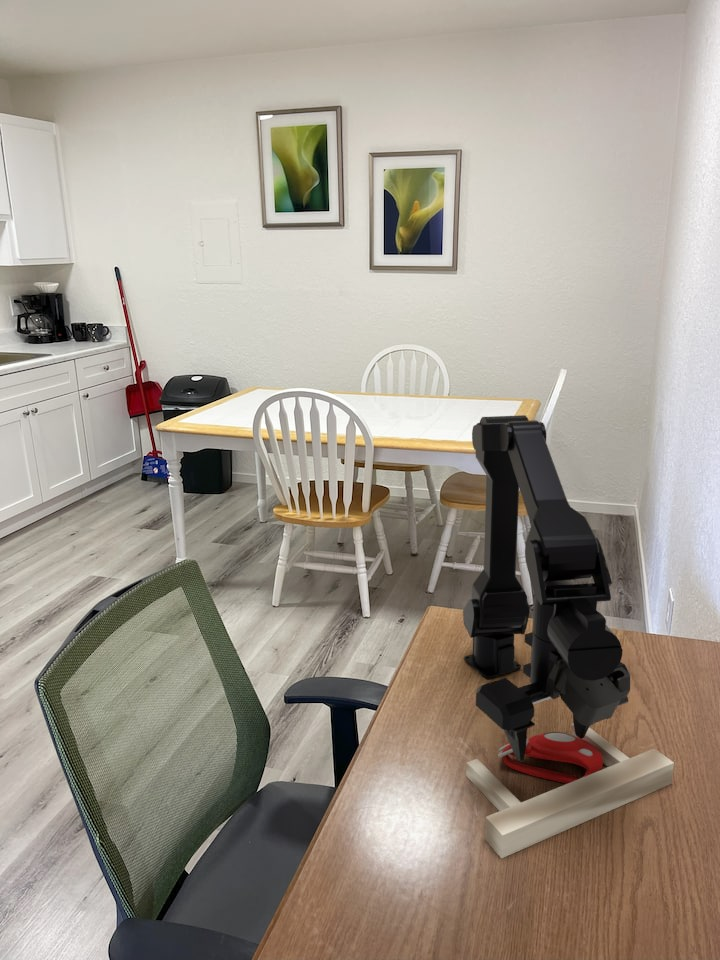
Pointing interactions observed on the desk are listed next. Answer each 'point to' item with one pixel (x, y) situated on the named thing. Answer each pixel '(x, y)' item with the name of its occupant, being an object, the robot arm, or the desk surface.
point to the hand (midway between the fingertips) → (550, 747)
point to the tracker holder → (556, 755)
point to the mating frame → (568, 796)
